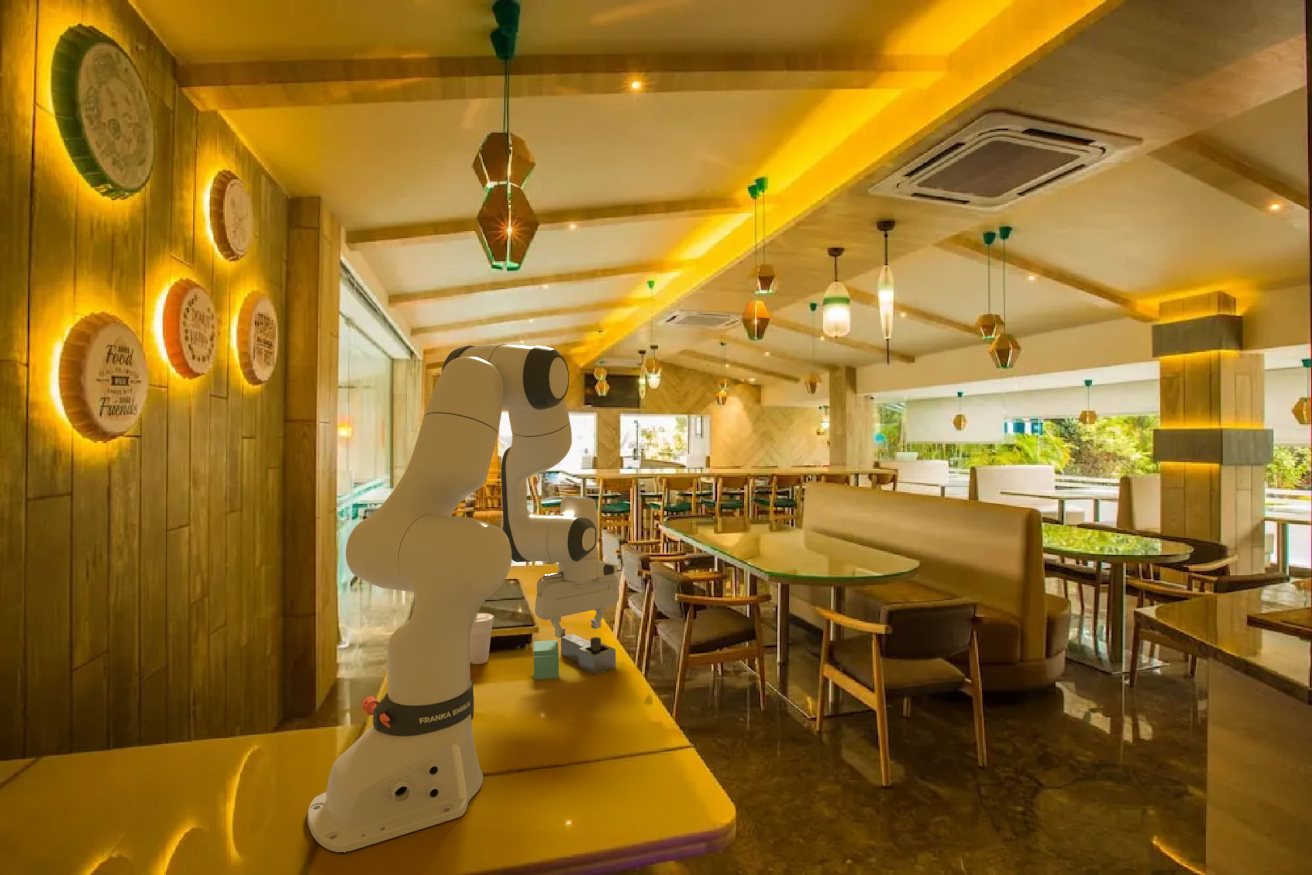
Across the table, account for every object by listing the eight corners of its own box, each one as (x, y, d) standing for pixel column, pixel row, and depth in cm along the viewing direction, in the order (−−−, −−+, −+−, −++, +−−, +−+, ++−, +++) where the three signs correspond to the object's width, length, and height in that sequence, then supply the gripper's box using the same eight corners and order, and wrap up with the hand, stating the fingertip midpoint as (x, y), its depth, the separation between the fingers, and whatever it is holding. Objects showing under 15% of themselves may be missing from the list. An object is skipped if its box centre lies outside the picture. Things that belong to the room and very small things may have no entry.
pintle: (594, 669, 133) (594, 641, 133) (588, 666, 135) (588, 638, 135) (603, 667, 135) (602, 639, 135) (597, 664, 136) (596, 636, 136)
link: (615, 667, 134) (615, 649, 134) (594, 674, 131) (594, 655, 131) (577, 649, 145) (576, 632, 145) (556, 655, 142) (556, 637, 142)
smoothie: (464, 657, 141) (463, 595, 141) (493, 654, 143) (493, 592, 142) (464, 668, 135) (463, 602, 134) (495, 664, 137) (494, 600, 136)
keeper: (557, 664, 136) (557, 639, 136) (558, 677, 129) (558, 651, 129) (533, 666, 135) (533, 641, 135) (534, 679, 128) (533, 653, 128)
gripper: (545, 578, 129) (545, 645, 129) (623, 565, 143) (623, 626, 143) (529, 573, 134) (529, 638, 134) (606, 561, 148) (606, 620, 148)
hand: (578, 632), depth 139 cm, fingers open, 8 cm apart
